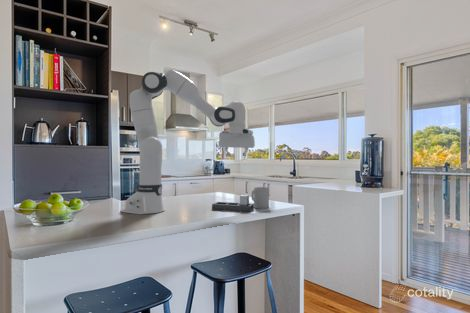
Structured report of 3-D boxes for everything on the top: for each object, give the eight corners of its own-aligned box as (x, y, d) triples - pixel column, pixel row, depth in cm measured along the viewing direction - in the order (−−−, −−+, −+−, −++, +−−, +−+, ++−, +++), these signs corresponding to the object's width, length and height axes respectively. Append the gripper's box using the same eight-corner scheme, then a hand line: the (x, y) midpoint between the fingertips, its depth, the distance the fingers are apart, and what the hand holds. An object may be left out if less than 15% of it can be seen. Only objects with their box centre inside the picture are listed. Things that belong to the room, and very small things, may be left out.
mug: (272, 207, 169) (272, 188, 169) (261, 209, 163) (261, 189, 163) (257, 204, 178) (257, 186, 178) (246, 206, 172) (246, 187, 172)
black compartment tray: (212, 209, 162) (212, 204, 162) (217, 206, 170) (217, 201, 170) (249, 212, 155) (250, 206, 155) (253, 209, 164) (253, 203, 164)
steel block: (239, 210, 159) (239, 195, 159) (241, 209, 163) (241, 194, 163) (247, 211, 158) (247, 196, 158) (248, 209, 162) (248, 195, 162)
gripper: (217, 130, 166) (216, 155, 166) (253, 130, 160) (252, 156, 160) (221, 131, 172) (220, 155, 172) (255, 131, 166) (255, 156, 166)
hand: (236, 155), depth 166 cm, fingers open, 8 cm apart
